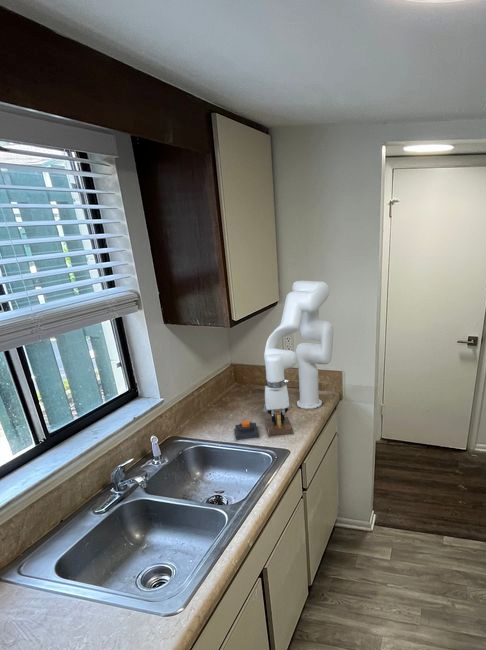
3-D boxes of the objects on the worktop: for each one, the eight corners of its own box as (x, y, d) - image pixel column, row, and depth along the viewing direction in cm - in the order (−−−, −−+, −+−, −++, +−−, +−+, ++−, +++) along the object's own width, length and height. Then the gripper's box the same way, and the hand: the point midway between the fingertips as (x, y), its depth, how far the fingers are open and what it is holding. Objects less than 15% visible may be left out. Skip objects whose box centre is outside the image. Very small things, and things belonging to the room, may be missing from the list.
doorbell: (235, 429, 193) (234, 421, 191) (256, 426, 195) (255, 418, 194) (237, 440, 183) (236, 431, 182) (258, 437, 186) (257, 429, 184)
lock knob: (275, 420, 194) (275, 410, 192) (279, 420, 194) (278, 409, 192) (277, 426, 189) (276, 415, 187) (281, 425, 189) (280, 414, 187)
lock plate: (266, 425, 197) (265, 418, 195) (288, 422, 199) (287, 416, 198) (269, 436, 186) (268, 430, 185) (292, 434, 189) (292, 427, 187)
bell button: (241, 424, 189) (241, 421, 188) (249, 423, 190) (249, 420, 189) (242, 428, 186) (241, 424, 185) (250, 427, 187) (250, 423, 186)
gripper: (293, 378, 189) (295, 417, 197) (255, 382, 185) (259, 421, 193) (296, 384, 183) (298, 424, 190) (257, 388, 179) (260, 428, 186)
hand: (278, 422), depth 191 cm, fingers closed
